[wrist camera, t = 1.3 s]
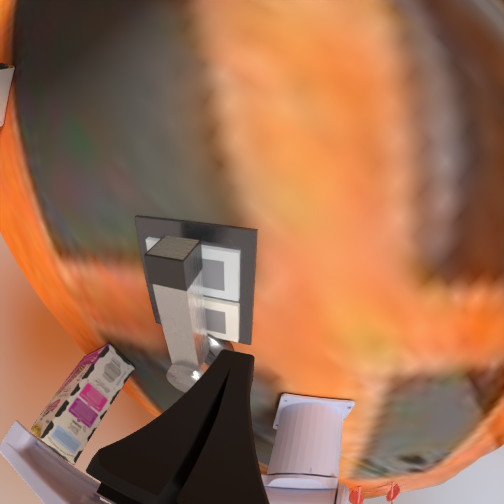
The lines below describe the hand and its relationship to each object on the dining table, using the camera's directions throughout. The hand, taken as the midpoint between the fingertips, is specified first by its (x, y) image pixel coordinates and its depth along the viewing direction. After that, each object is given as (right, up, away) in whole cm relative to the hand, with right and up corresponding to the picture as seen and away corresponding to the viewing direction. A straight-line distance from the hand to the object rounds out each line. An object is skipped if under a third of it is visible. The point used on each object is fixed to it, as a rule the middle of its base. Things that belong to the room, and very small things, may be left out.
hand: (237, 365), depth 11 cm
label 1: (-4, +4, +8) cm, 10 cm away
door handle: (-4, 0, +9) cm, 10 cm away
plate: (-4, +2, +9) cm, 10 cm away
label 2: (-4, 0, +11) cm, 11 cm away
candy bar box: (-20, -10, +21) cm, 31 cm away
